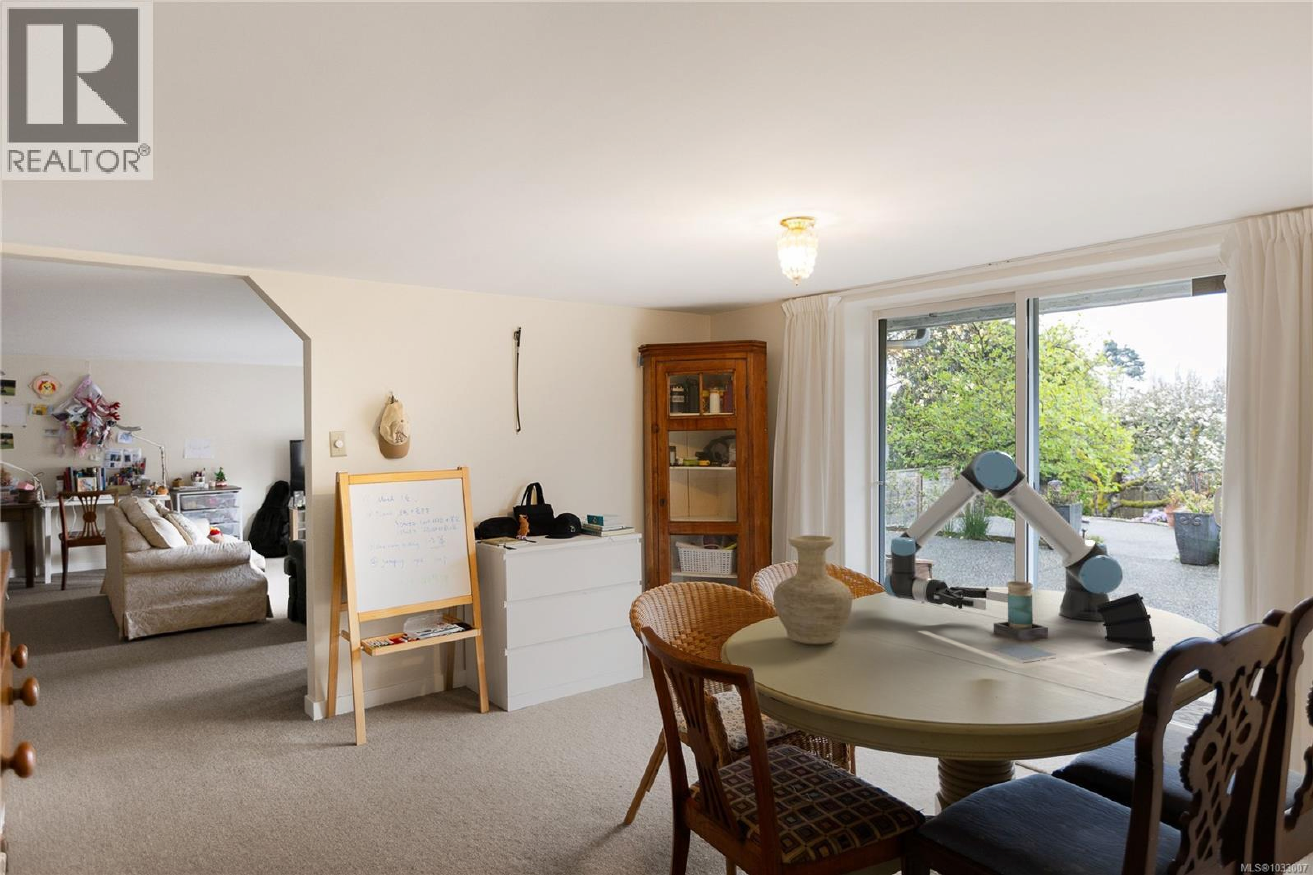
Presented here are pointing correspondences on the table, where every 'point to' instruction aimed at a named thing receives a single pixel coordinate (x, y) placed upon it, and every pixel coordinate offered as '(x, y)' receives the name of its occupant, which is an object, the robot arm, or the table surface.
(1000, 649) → the rubber mat
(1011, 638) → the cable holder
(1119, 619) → the magazine
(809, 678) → the table surface
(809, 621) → the vase
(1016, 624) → the disc
